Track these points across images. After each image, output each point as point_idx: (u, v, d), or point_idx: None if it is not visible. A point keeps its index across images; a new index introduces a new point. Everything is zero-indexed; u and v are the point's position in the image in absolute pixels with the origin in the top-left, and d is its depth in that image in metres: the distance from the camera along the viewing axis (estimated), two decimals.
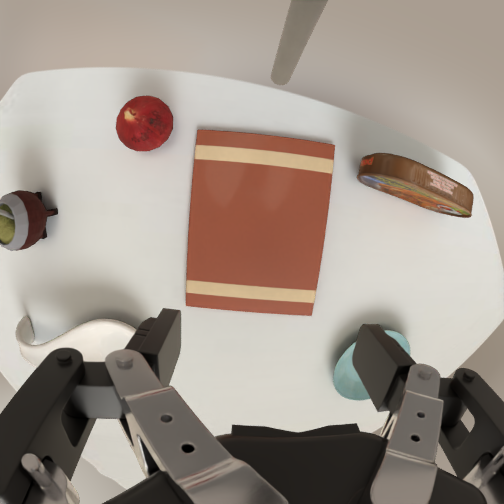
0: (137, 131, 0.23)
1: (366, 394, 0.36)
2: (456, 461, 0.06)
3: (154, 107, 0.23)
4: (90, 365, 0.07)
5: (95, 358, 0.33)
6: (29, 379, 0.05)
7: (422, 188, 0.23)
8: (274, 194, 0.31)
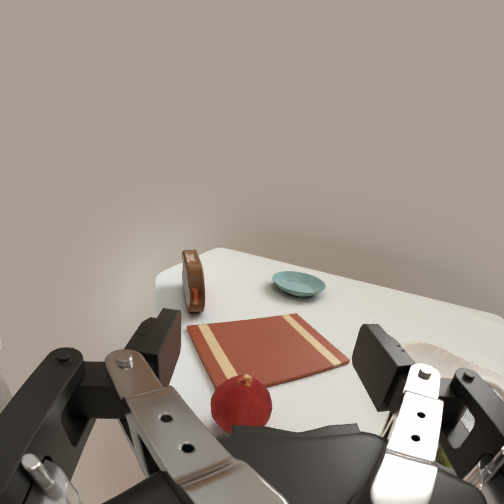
0: (255, 379, 0.25)
1: (315, 280, 0.66)
2: (456, 461, 0.06)
3: (226, 380, 0.25)
4: (91, 365, 0.07)
5: None
6: (29, 379, 0.05)
7: (199, 261, 0.48)
8: (240, 343, 0.40)
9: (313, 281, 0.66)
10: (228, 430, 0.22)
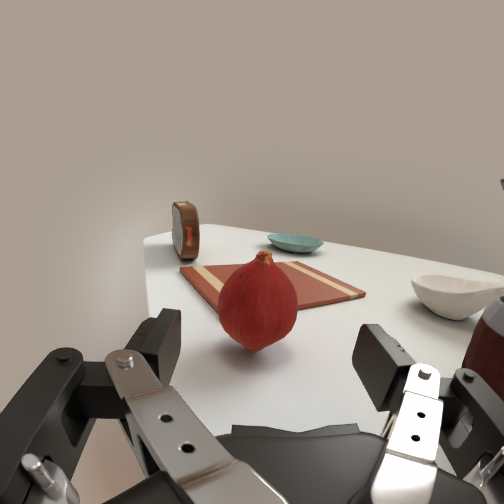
0: None
1: (311, 241, 0.63)
2: (456, 461, 0.06)
3: None
4: (90, 365, 0.07)
5: None
6: (29, 379, 0.05)
7: (192, 204, 0.44)
8: None
9: (309, 241, 0.63)
10: (244, 334, 0.19)
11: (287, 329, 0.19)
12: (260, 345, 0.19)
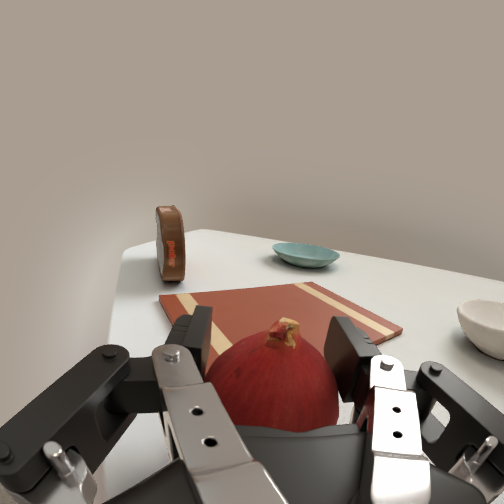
0: None
1: (324, 251, 0.53)
2: (435, 455, 0.06)
3: None
4: (134, 361, 0.08)
5: None
6: (70, 371, 0.06)
7: (178, 210, 0.34)
8: (242, 315, 0.26)
9: (321, 252, 0.53)
10: None
11: None
12: None
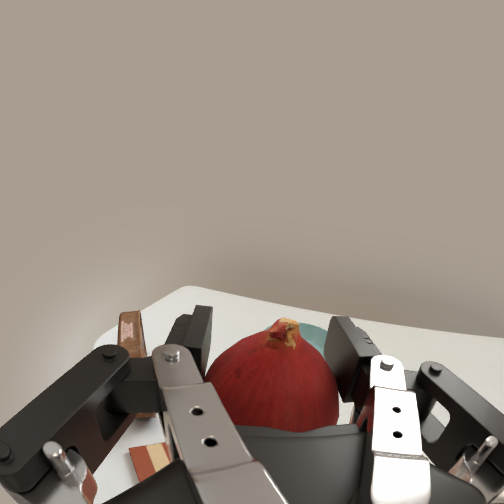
0: None
1: (321, 333, 0.45)
2: (435, 455, 0.06)
3: (231, 347, 0.11)
4: (134, 361, 0.08)
5: None
6: (70, 371, 0.06)
7: (140, 341, 0.26)
8: None
9: (318, 334, 0.45)
10: None
11: None
12: None
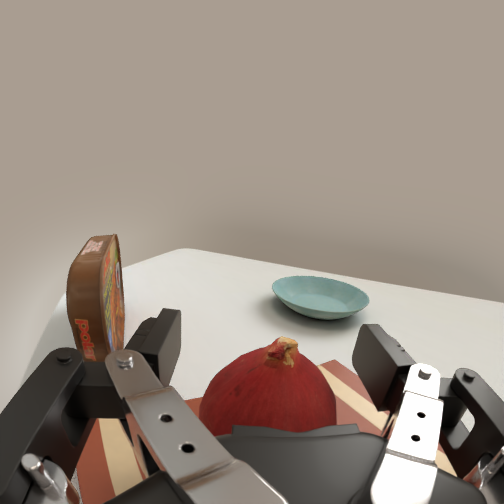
0: None
1: (345, 288, 0.37)
2: (456, 461, 0.06)
3: (230, 363, 0.11)
4: (91, 365, 0.07)
5: None
6: (29, 379, 0.05)
7: (106, 252, 0.18)
8: None
9: (341, 290, 0.37)
10: None
11: None
12: None
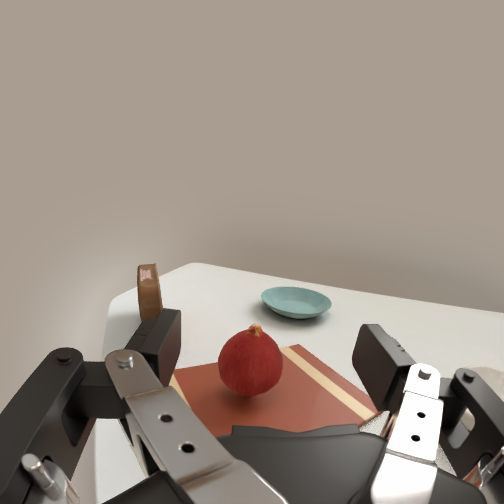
0: None
1: (316, 296, 0.51)
2: (456, 461, 0.06)
3: (233, 336, 0.25)
4: (91, 365, 0.07)
5: None
6: (29, 379, 0.05)
7: (157, 279, 0.32)
8: (221, 401, 0.24)
9: (313, 297, 0.51)
10: (239, 389, 0.22)
11: (273, 384, 0.23)
12: (252, 395, 0.23)
